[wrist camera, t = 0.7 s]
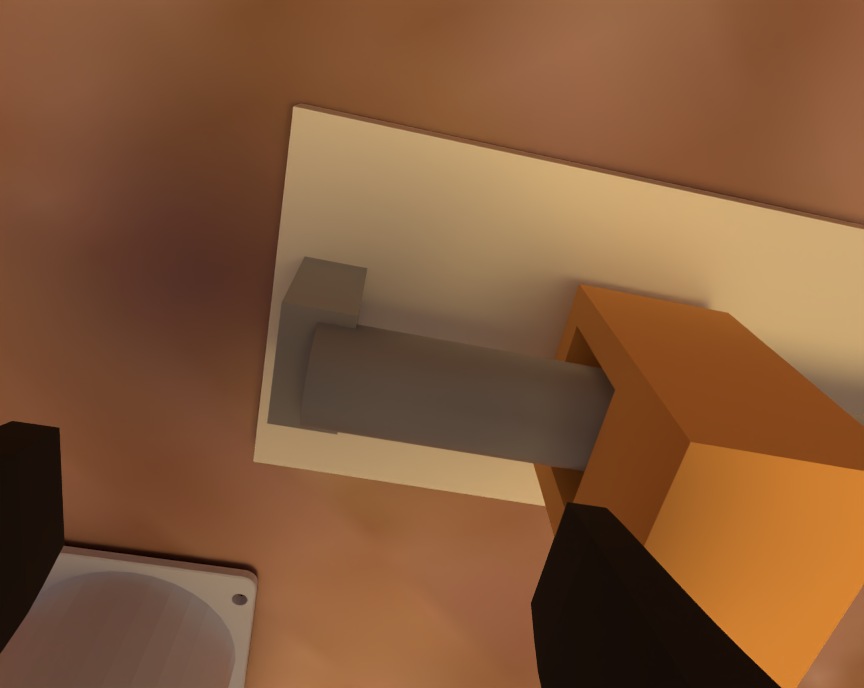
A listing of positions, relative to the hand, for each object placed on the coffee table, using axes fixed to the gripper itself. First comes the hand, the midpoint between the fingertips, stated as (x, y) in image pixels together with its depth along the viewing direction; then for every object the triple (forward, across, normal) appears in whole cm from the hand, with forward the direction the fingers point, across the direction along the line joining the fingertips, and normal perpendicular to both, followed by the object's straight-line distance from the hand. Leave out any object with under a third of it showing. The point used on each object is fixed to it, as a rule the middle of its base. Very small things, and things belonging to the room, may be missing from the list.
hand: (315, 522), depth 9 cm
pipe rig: (+9, -11, 0) cm, 15 cm away
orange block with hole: (+8, -7, 0) cm, 10 cm away
